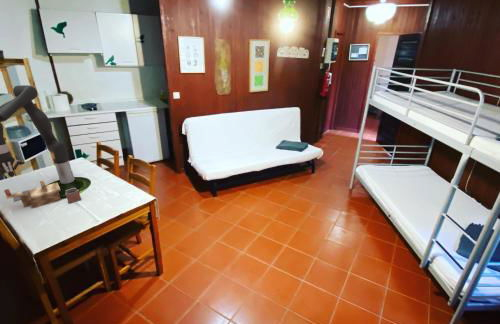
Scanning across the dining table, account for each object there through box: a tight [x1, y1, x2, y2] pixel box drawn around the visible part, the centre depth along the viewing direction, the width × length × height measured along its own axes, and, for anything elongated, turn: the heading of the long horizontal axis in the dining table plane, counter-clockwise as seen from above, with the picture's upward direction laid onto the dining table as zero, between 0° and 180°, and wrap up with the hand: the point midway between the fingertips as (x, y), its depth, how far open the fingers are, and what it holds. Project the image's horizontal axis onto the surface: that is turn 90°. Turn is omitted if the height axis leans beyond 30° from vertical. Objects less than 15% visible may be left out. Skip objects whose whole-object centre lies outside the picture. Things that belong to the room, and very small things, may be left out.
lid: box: [28, 180, 61, 199], centre depth 177 cm, size 16×12×6 cm
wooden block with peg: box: [3, 188, 23, 200], centre depth 167 cm, size 8×2×6 cm, turn 131°
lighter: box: [64, 187, 82, 204], centre depth 179 cm, size 8×3×10 cm, turn 135°
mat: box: [12, 189, 30, 202], centre depth 187 cm, size 18×12×1 cm, turn 131°
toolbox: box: [20, 191, 62, 209], centre depth 177 cm, size 20×12×8 cm, turn 131°
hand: (12, 176), depth 163 cm, fingers closed
